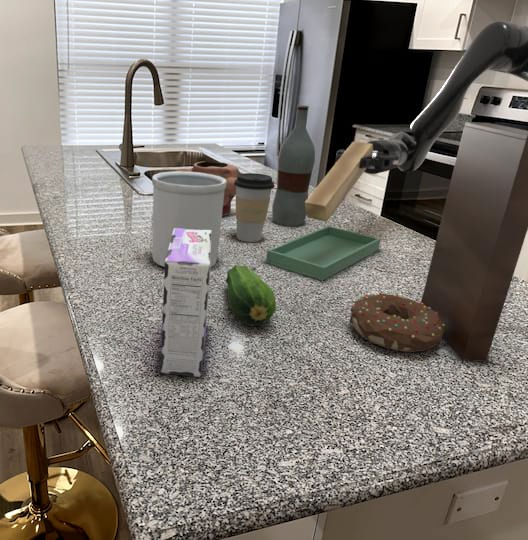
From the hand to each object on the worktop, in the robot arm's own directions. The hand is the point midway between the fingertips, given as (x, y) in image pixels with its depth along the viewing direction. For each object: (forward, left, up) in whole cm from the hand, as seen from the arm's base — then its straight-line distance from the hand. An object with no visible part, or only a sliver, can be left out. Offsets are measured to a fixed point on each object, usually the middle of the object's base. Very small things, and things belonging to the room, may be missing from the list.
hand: (350, 161), depth 109 cm
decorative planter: (+29, -29, -21) cm, 46 cm away
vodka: (+7, -23, -21) cm, 32 cm away
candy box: (+33, +46, -21) cm, 61 cm away
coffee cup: (+19, -8, -21) cm, 29 cm away
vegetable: (+23, +31, -21) cm, 43 cm away
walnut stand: (-9, +36, -21) cm, 43 cm away
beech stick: (+2, +2, -5) cm, 6 cm away
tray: (+3, +3, -21) cm, 21 cm away
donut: (0, +38, -21) cm, 44 cm away
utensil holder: (+34, +9, -21) cm, 41 cm away
